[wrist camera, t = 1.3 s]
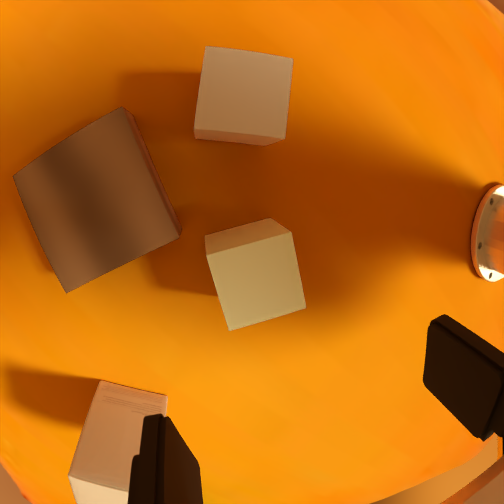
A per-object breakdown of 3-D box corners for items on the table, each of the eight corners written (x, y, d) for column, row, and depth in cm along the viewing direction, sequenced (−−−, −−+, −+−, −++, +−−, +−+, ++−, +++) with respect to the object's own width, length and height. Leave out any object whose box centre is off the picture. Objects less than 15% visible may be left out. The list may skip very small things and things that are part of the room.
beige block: (270, 217, 25) (291, 232, 19) (284, 278, 27) (306, 307, 21) (204, 235, 25) (206, 255, 19) (222, 296, 26) (229, 330, 20)
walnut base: (133, 115, 21) (121, 106, 18) (182, 227, 24) (179, 238, 21) (36, 174, 21) (12, 176, 17) (83, 276, 24) (66, 293, 20)
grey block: (271, 82, 22) (293, 58, 17) (264, 146, 24) (285, 139, 18) (203, 73, 21) (205, 46, 16) (195, 138, 23) (193, 128, 17)
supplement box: (99, 377, 26) (65, 473, 14) (169, 394, 28) (164, 498, 16) (98, 423, 28) (76, 511, 16) (161, 438, 29) (157, 529, 17)
